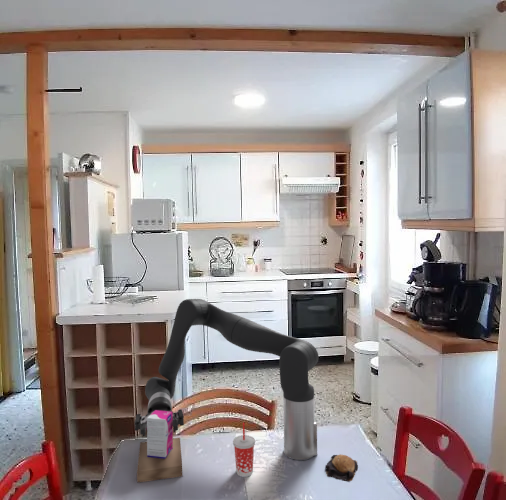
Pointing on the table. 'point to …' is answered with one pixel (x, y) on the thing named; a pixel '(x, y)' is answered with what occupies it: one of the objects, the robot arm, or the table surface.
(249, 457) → the beverage cup
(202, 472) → the table surface
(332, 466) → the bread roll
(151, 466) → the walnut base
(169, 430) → the supplement box
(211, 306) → the robot arm
